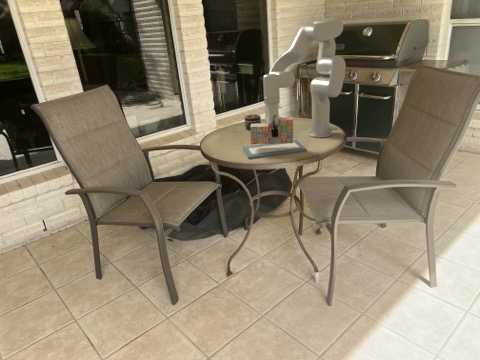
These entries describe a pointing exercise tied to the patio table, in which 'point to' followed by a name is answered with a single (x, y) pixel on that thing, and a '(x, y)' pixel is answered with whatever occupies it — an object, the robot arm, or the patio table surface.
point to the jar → (251, 120)
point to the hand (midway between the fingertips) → (273, 134)
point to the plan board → (273, 149)
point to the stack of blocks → (263, 132)
